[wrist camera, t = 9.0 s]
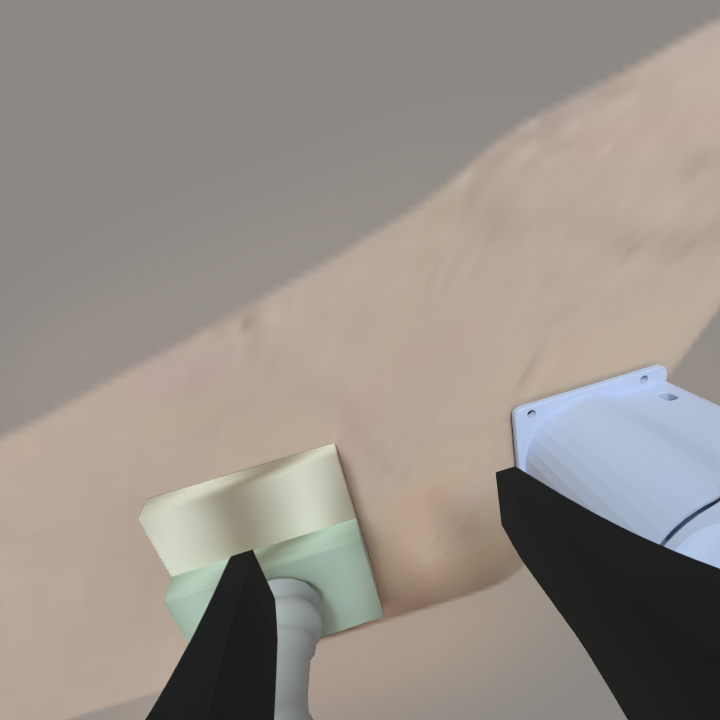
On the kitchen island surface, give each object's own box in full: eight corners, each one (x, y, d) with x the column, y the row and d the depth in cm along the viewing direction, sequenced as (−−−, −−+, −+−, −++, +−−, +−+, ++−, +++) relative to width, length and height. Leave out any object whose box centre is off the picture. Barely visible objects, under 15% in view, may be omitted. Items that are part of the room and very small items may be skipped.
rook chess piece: (324, 625, 22) (345, 833, 15) (240, 641, 22) (219, 868, 14) (319, 564, 21) (340, 764, 13) (228, 579, 20) (197, 800, 13)
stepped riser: (334, 443, 22) (342, 477, 19) (373, 571, 26) (384, 616, 23) (147, 499, 21) (127, 543, 18) (217, 623, 25) (209, 675, 22)
